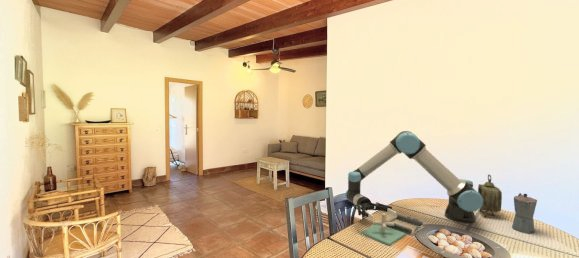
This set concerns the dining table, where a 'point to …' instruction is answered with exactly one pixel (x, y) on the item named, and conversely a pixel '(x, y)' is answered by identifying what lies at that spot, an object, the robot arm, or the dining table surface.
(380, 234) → the teal board
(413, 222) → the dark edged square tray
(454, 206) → the robot arm
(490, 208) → the olive green lantern
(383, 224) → the pipe connector
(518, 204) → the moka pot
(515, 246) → the dining table surface
